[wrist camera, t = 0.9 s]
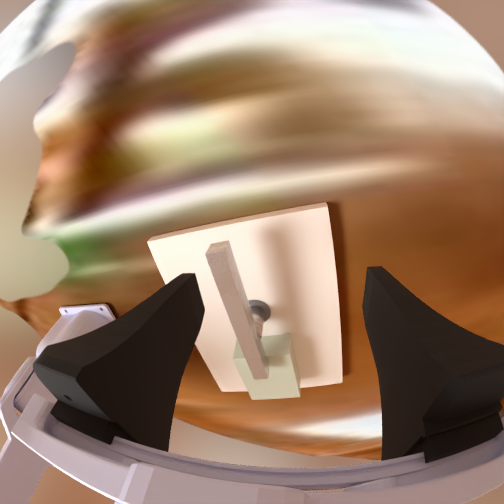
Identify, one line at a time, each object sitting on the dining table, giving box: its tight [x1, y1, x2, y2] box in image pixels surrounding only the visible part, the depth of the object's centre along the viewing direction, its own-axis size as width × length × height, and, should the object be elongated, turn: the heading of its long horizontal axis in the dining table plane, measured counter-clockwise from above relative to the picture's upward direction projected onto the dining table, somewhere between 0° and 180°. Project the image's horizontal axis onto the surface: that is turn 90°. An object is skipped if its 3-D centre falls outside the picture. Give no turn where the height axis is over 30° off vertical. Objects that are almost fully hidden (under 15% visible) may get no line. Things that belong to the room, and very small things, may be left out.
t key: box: [205, 240, 270, 380], centre depth 20 cm, size 2×12×4 cm, turn 14°
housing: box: [147, 202, 342, 392], centre depth 24 cm, size 14×20×1 cm
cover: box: [232, 333, 300, 400], centre depth 25 cm, size 5×7×2 cm
